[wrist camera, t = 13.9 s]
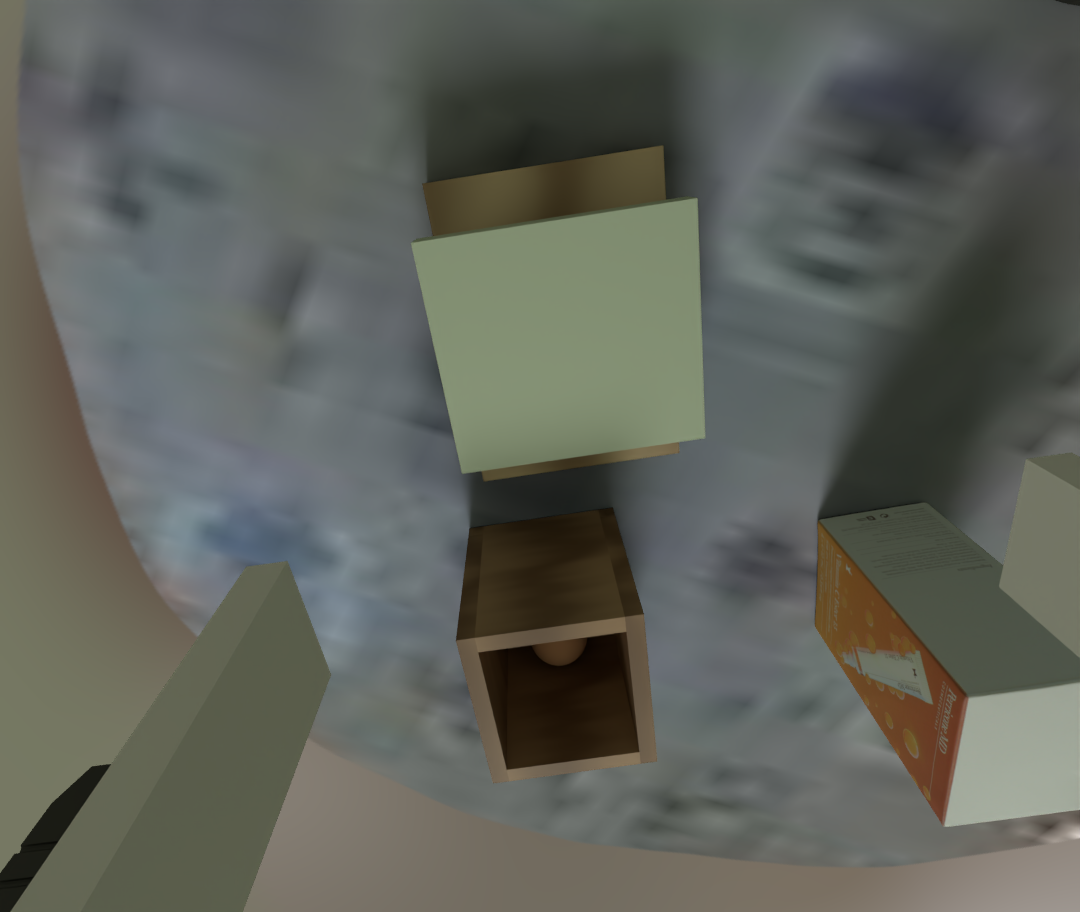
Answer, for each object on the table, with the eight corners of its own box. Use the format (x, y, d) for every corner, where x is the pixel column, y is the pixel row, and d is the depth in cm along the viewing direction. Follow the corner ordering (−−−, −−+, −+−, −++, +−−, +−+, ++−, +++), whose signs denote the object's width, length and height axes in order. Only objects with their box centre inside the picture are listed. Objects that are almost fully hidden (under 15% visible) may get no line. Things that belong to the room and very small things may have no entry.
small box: (814, 517, 35) (967, 695, 23) (927, 499, 35) (1141, 669, 23) (811, 628, 38) (943, 832, 27) (914, 612, 38) (1093, 811, 26)
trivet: (655, 146, 27) (663, 145, 25) (672, 440, 33) (679, 452, 31) (426, 182, 27) (422, 183, 26) (484, 468, 33) (483, 481, 31)
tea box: (612, 507, 34) (643, 614, 26) (626, 633, 38) (657, 761, 30) (469, 528, 34) (455, 640, 26) (497, 651, 38) (493, 783, 30)
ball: (580, 591, 35) (586, 628, 33) (586, 634, 37) (593, 674, 34) (525, 598, 36) (526, 637, 33) (533, 641, 37) (535, 682, 34)
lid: (678, 194, 26) (697, 197, 23) (688, 413, 30) (705, 438, 28) (421, 235, 26) (410, 242, 24) (466, 446, 31) (462, 473, 28)
